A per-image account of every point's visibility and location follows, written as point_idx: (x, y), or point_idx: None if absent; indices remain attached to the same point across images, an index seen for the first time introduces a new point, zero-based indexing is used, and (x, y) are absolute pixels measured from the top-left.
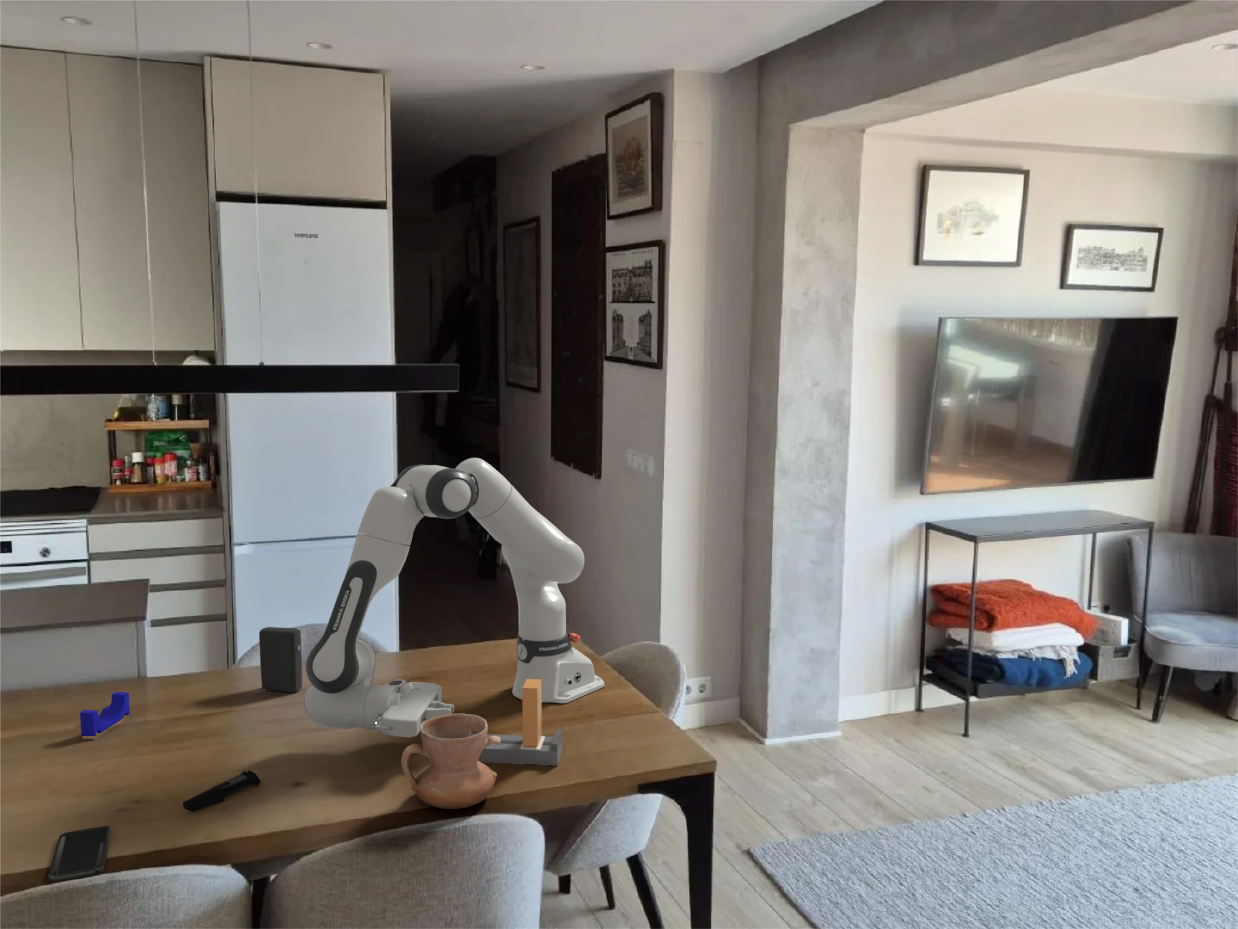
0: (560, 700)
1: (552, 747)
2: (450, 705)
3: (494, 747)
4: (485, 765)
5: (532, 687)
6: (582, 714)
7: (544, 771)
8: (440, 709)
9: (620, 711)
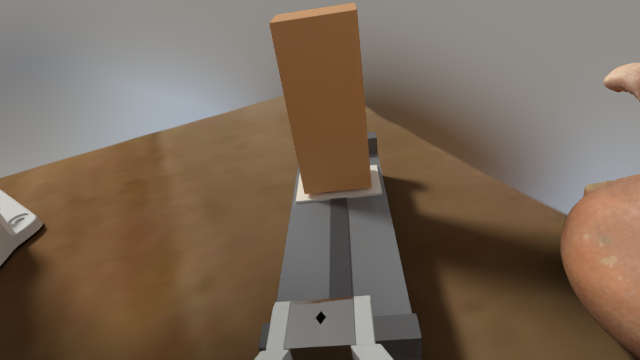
0: (32, 226)
1: (376, 143)
2: (294, 309)
3: (386, 244)
4: (610, 186)
5: (348, 5)
6: (121, 193)
7: (409, 185)
8: (384, 349)
9: (134, 157)
